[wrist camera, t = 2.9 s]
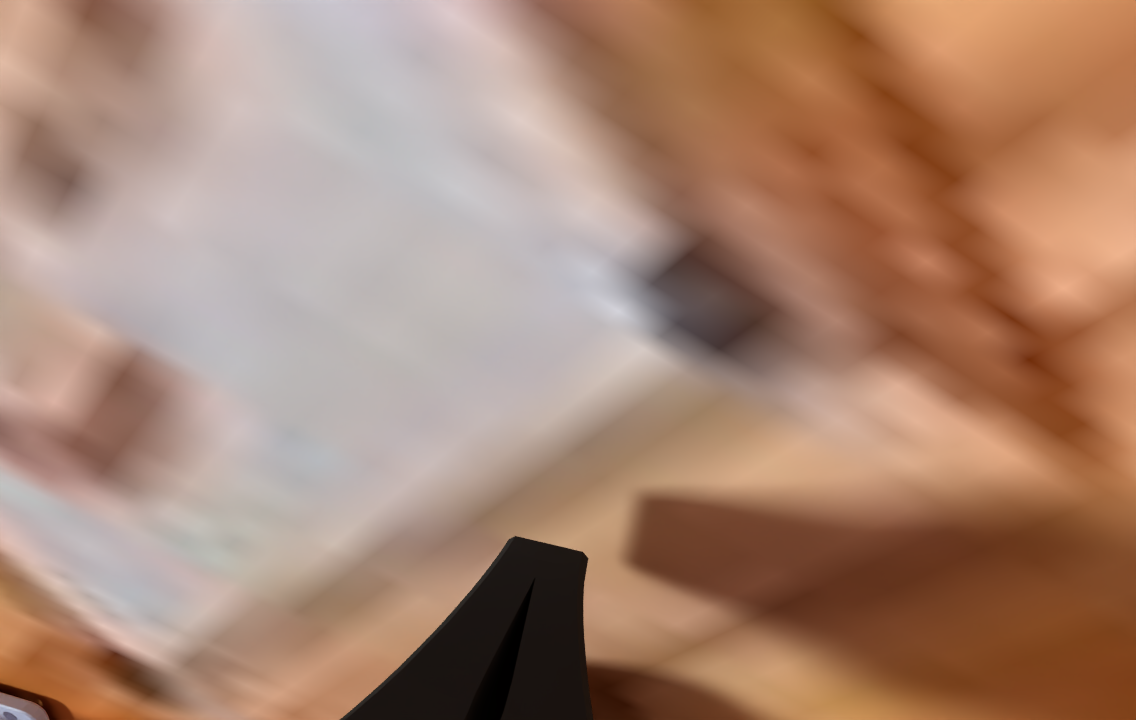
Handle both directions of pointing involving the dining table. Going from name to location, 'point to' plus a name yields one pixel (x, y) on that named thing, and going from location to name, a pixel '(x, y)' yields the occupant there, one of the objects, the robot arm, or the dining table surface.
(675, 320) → the dining table surface
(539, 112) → the dining table surface
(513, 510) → the dining table surface
